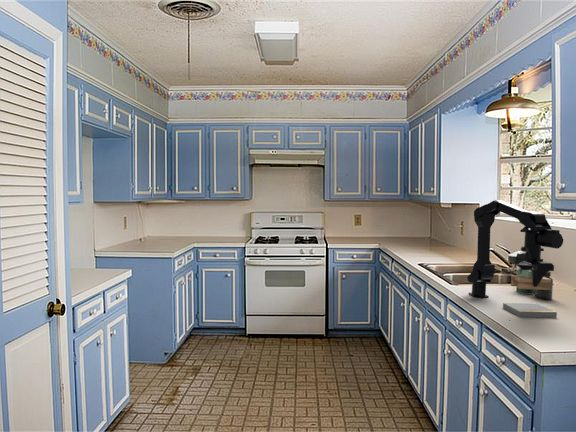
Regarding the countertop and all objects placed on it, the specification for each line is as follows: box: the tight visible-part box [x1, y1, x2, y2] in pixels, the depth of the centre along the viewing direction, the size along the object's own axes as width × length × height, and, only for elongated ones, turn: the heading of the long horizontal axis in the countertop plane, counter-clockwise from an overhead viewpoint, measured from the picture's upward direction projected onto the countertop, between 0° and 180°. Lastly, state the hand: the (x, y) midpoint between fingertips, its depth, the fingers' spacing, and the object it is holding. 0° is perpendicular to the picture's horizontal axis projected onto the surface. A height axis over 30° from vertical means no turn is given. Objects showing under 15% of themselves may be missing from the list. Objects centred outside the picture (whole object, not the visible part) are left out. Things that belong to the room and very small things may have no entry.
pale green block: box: [522, 270, 533, 278], centre depth 164 cm, size 4×5×2 cm
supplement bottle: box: [534, 271, 554, 301], centre depth 188 cm, size 7×7×12 cm
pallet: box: [510, 274, 551, 290], centre depth 165 cm, size 6×12×4 cm, turn 91°
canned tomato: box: [515, 267, 535, 295], centre depth 198 cm, size 8×8×11 cm
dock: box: [502, 302, 558, 319], centre depth 165 cm, size 12×14×2 cm
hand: (530, 284), depth 165 cm, fingers closed on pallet, 6 cm apart
